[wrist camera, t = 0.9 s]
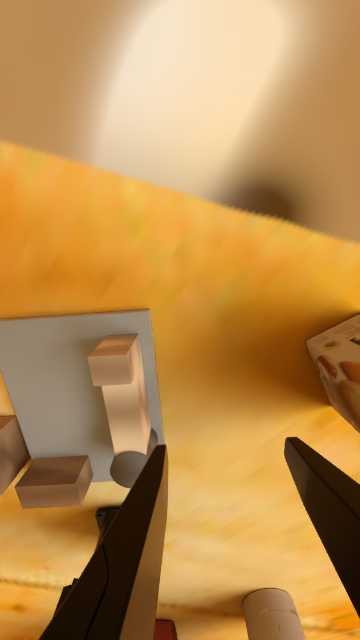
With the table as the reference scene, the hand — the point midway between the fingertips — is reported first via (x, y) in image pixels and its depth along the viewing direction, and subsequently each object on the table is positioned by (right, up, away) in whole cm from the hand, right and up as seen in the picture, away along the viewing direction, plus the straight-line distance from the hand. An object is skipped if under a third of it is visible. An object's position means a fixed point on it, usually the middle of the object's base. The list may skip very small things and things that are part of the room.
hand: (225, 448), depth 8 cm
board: (-11, -4, +13) cm, 18 cm away
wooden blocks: (-17, -9, +15) cm, 24 cm away
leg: (-7, -3, +12) cm, 14 cm away
